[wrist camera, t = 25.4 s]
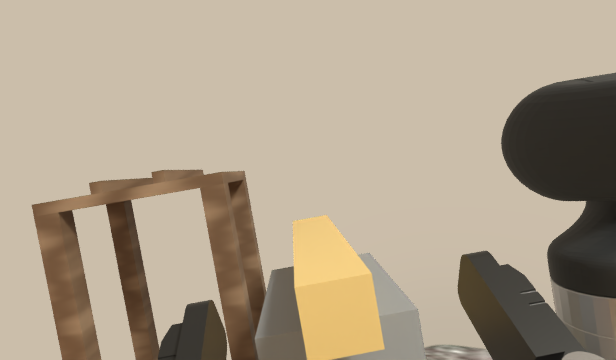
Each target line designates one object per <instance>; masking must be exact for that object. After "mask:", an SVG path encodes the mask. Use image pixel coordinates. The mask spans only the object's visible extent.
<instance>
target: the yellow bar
mask: <svg viewBox="0 0 616 360" xmlns="http://www.w3.org/2000/svg"><path fill="white" fill-rule="evenodd" d="M293 248H294V288H295V294H296V299H297V305H298V311H299V316H300V322H301V328H302V333H303V339H304V344H305V350H306V356H307V360H332V359H337V358H342V357H347V356H352V355H357V354H363V353H368V352H373V351H378V350H383V349H385V348H384V342H383V337H382V331H381V325H380V319H379V313H378V307H377V301H376V295H375V290H374V284H373V278H372V273H371V272H370V270H369V269H368V268H367V266H366V265H365V264H364V263H363V261H362V260H361V259H360V257H359V256H358V255H357V254H356V252H355V251H354V250H353V248H352V247H351V246H350V245H349V243H348V242H347V241H346V239H345V238H344V237H343V236H342V234H341V233H340V232H339V230H338V229H337V228H336V227H335V225H334V224H333V223H332V221H331V220H330V219H329V217H328V216H327V215H324V216H319V217H314V218H308V219H302V220H297V221H293Z"/></svg>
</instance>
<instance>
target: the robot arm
mask: <svg viewBox="0 0 616 360" xmlns="http://www.w3.org/2000/svg"><path fill="white" fill-rule="evenodd" d="M501 144H502V152H503V156H504V159H505V161H506V163H507V166H508V167H509V169H510V170H511V172H512V173H513V175H514V176H515V177H516V178H517V179H518V180H519V181H520V182H521V183H522V184H524V185H525V186H526V187H528V188H529V189H530V190H532V191H534V192H536V193H538V194H540V195H542V196H545V197H548V198H551V199H555V200H561V201H586V206H585V209H584V211H583V213H582V215H581V216H580V218H579V219H578V220H577V221H576V222H575V223H574V224H573V225H572V226H571V227H570V228H569V229H567V230H566V231H565V232H564V233H562V234H561V235H560V236H558V237H557V238H556V239H554V240H553V241H552V243H551V244H550V246H549V248H548V252H547V256H548V264H549V272H550V277H551V285H552V292H553V298H554V304H555V311H556V313H555V312H554V311H553V310H552V309H551V307H550V306H549V305H548V304H547V303H545V300H544V299H543V297H542V296H541V295H540V294H539V293H538V292H536V290H535V288H534V287H533V285H532V284H531V283H530V282H529V280H528V279H527V278H526V277H525V275H523V274H522V273H520V272H519V271H517V270H516V269H514V268H513V267H511V266H510V265H508V264H506V265H501V266H500V265H499V264H498V263H497V261H496V260H495V259H494V257H493V256H492V255H491V254H490V253H489V252H488V251H481V252H476V253H470V254H465V255H462V257H461V261H460V270H459V280H458V294H459V298H460V301H461V304H462V306H463V308H464V310H465V311H466V313H467V315H468V317H469V319H470V320H471V322H472V324H473V325H474V327H475V329H476V331H477V333H478V334H479V336H480V338H481V339H482V341H483V343H484V345H485V346H486V348H487V350H488V352H489V354H490V355H491V357H492V359H493V360H616V73H612V74H606V75H599V76H593V77H587V78H581V79H574V80H569V81H562V82H557V83H553V84H551V85H547V86H545V87H542V88H540V89H538V90H536V91H534V92H532V93H531V94H529V95H528V96H527V97H525V98H524V99H523V100H522V101H521V102H520V103H519V104H518V105H517V106H516V107H515V108H514V109H513V111H512V112H511V114H510V116H509V117H508V119H507V121H506V124H505V126H504V129H503V134H502V142H501ZM226 355H227V340H226V333H225V330H224V327H223V324H222V322H221V319H220V317H219V314H218V312H217V309H216V307H215V304H214V302H213V301H212V300H208V301H203V302H198V303H192V304H188V305H187V306H186V309H185V315H184V320H183V323H180V324H175V325H172V326H171V328H170V329H169V331H168V332H167V334H166V335H165V337H164V339H163V340H162V342H161V346H160V350H159V354H158V360H226Z"/></svg>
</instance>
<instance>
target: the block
mask: <svg viewBox="0 0 616 360" xmlns="http://www.w3.org/2000/svg"><path fill="white" fill-rule="evenodd" d="M358 256H359V257H360V259H361V260H362V261H363V263H364V264H365V265H366V266H367V268H368V269H369V270H370V272H371V273H372V278H373V284H374V290H375V295H376V301H377V307H378V313H379V319H380V325H381V331H382V337H383V342H384V348H385V349H383V350H378V351H373V352H368V353H363V354H357V355H352V356H347V357H342V358H337V359H332V360H426V355H425V349H424V343H423V337H422V332H421V325H420V319H419V313H418V309H417V308H416V307H415V305H414V304H413V303H412V302H411V301H410V299H409V298H408V297H407V296H406V295H405V294H404V292H403V291H402V290H401V289H400V288H399V287H398V285H397V284H396V283H395V282H394V281H393V280H392V279H391V278H390V276H389V275H388V274H387V273H386V272H385V270H384V269H383V268H382V267H381V266H380V265H379V264H378V262H377V261H376V260H375V259H374V258H373V257H372V255H371V254H370V253H366V254H361V255H358ZM255 343H256V349H257V354H258V360H307V356H306V350H305V344H304V339H303V333H302V328H301V322H300V316H299V311H298V305H297V299H296V294H295V288H294V266H293V267H288V268H283V269H277V270H272V272H271V276H270V280H269V284H268V288H267V292H266V296H265V300H264V304H263V308H262V312H261V316H260V320H259V324H258V328H257V332H256V336H255Z"/></svg>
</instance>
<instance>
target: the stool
mask: <svg viewBox="0 0 616 360" xmlns="http://www.w3.org/2000/svg"><path fill="white" fill-rule="evenodd" d="M152 177H153V178H143V179H125V180H109V181H98V182H92V183H89V185H90V191H91V195H86V196H80V197H75V198H69V199H63V200H57V201H52V202H46V203H40V204H34V205H32V209H33V214H34V219H35V224H36V228H37V234H38V239H39V244H40V249H41V254H42V259H43V264H44V269H45V274H46V279H47V284H48V289H49V294H50V299H51V304H52V309H53V314H54V319H55V324H56V329H57V334H58V340H59V345H60V350H61V354H62V360H101V356H100V350H99V346H98V341H97V335H96V330H95V325H94V320H93V315H92V310H91V305H90V299H89V294H88V289H87V284H86V279H85V274H84V269H83V264H82V259H81V253H80V248H79V243H78V238H77V233H76V228H75V222H74V217H73V213H72V210H75V209H80V208H87V207H92V206H98V205H104V204H106V206H107V212H108V216H109V222H110V227H111V233H112V238H113V242H114V248H115V253H116V258H117V263H118V269H119V274H120V279H121V285H122V290H123V295H124V300H125V305H126V311H127V316H128V321H129V326H130V331H131V336H132V342H133V347H134V352H135V357H136V360H158V354H159V345H158V340H157V335H156V329H155V324H154V319H153V313H152V308H151V303H150V297H149V293H148V287H147V282H146V277H145V271H144V266H143V261H142V256H141V250H140V245H139V240H138V234H137V230H136V224H135V219H134V214H133V208H132V203H131V200H133V199H138V198H144V197H150V196H155V195H161V194H167V193H173V192H178V191H184V190H190V189H196V188H200V190H201V195H202V201H203V206H204V211H205V217H206V222H207V228H208V233H209V239H210V244H211V250H212V254H213V260H214V265H215V271H216V277H217V282H218V288H219V293H220V298H221V304H222V309H223V314H224V320H225V326H226V331H227V336H228V342H229V347H230V353H231V358H232V360H258V354H257V349H256V343H255V336H256V332H257V328H258V324H259V320H260V316H261V312H262V308H263V304H264V300H265V296H266V289H265V283H264V277H263V272H262V266H261V261H260V255H259V250H258V244H257V238H256V233H255V228H254V222H253V216H252V211H251V205H250V199H249V194H248V188H247V183H246V177H245V172H244V171H237V172H218V173H213V174H207V175H204V174H203V170H161V171H156V172H152Z"/></svg>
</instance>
